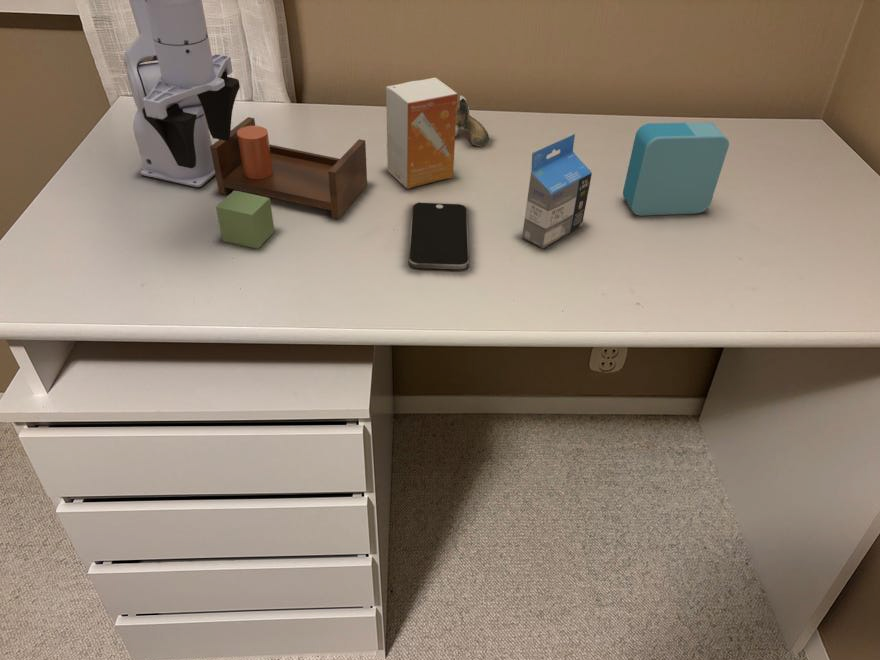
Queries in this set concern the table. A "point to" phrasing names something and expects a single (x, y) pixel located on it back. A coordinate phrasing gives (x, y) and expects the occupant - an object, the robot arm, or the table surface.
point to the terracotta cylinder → (255, 152)
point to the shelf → (295, 174)
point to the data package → (674, 168)
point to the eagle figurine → (470, 124)
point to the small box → (420, 131)
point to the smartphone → (439, 236)
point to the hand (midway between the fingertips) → (204, 151)
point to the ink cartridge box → (555, 194)
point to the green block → (245, 219)
